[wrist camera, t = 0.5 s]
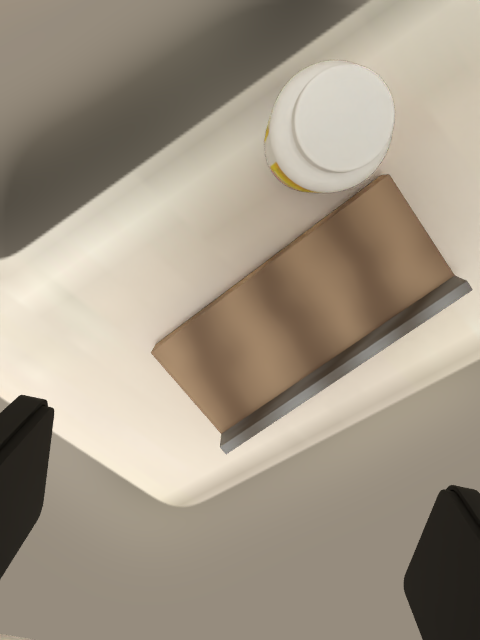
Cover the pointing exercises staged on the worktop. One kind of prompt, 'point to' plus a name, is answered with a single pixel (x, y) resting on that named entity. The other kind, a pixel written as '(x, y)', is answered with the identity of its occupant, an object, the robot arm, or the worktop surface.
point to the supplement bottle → (329, 127)
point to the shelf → (311, 314)
